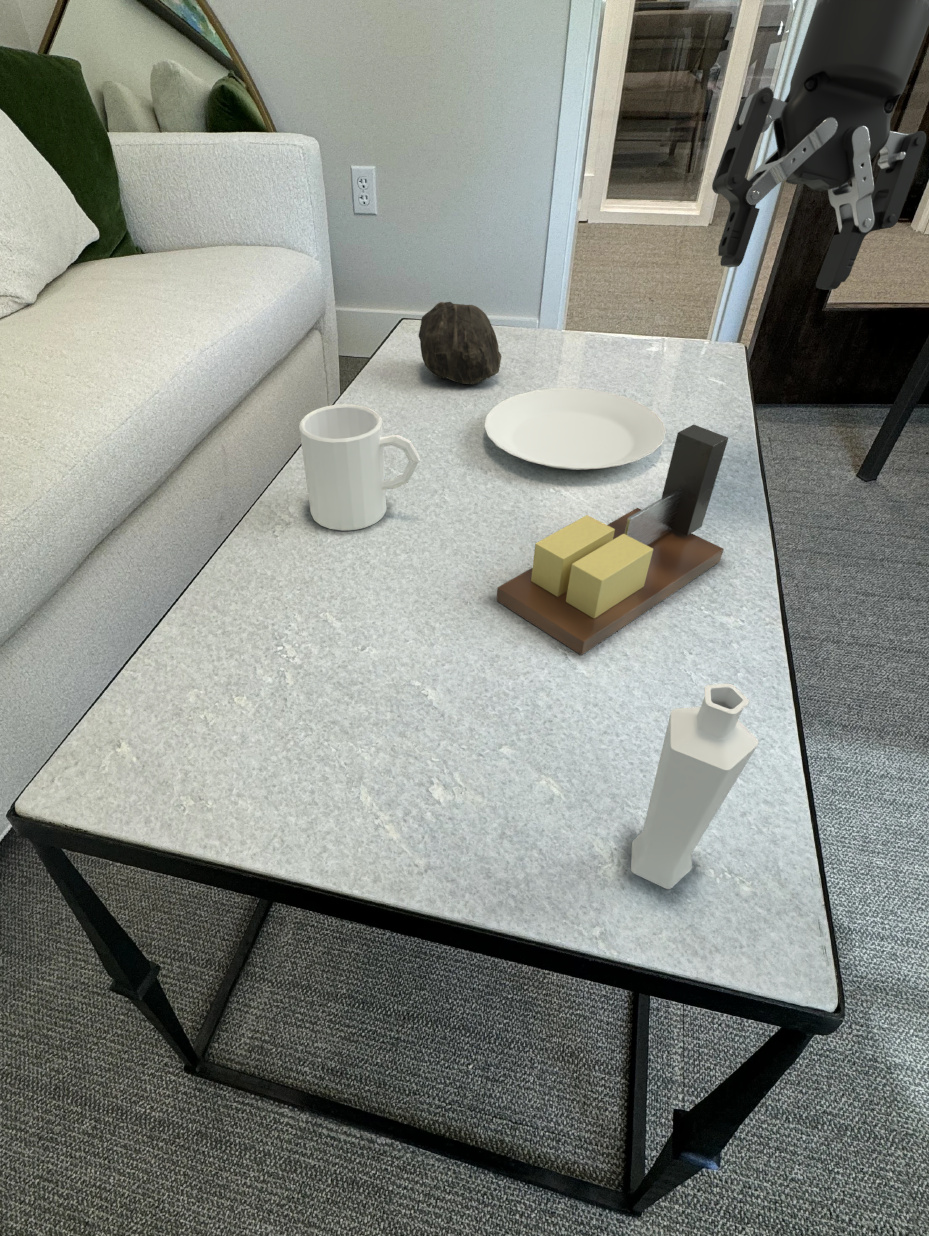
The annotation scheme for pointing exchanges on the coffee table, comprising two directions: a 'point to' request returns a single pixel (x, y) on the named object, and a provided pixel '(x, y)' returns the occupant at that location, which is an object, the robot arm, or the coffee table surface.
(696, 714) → the white faceted vase
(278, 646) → the coffee table surface
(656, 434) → the plate
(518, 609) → the slicer board
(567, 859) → the coffee table surface
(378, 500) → the mug
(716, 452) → the knife
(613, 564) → the butter
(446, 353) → the rock
